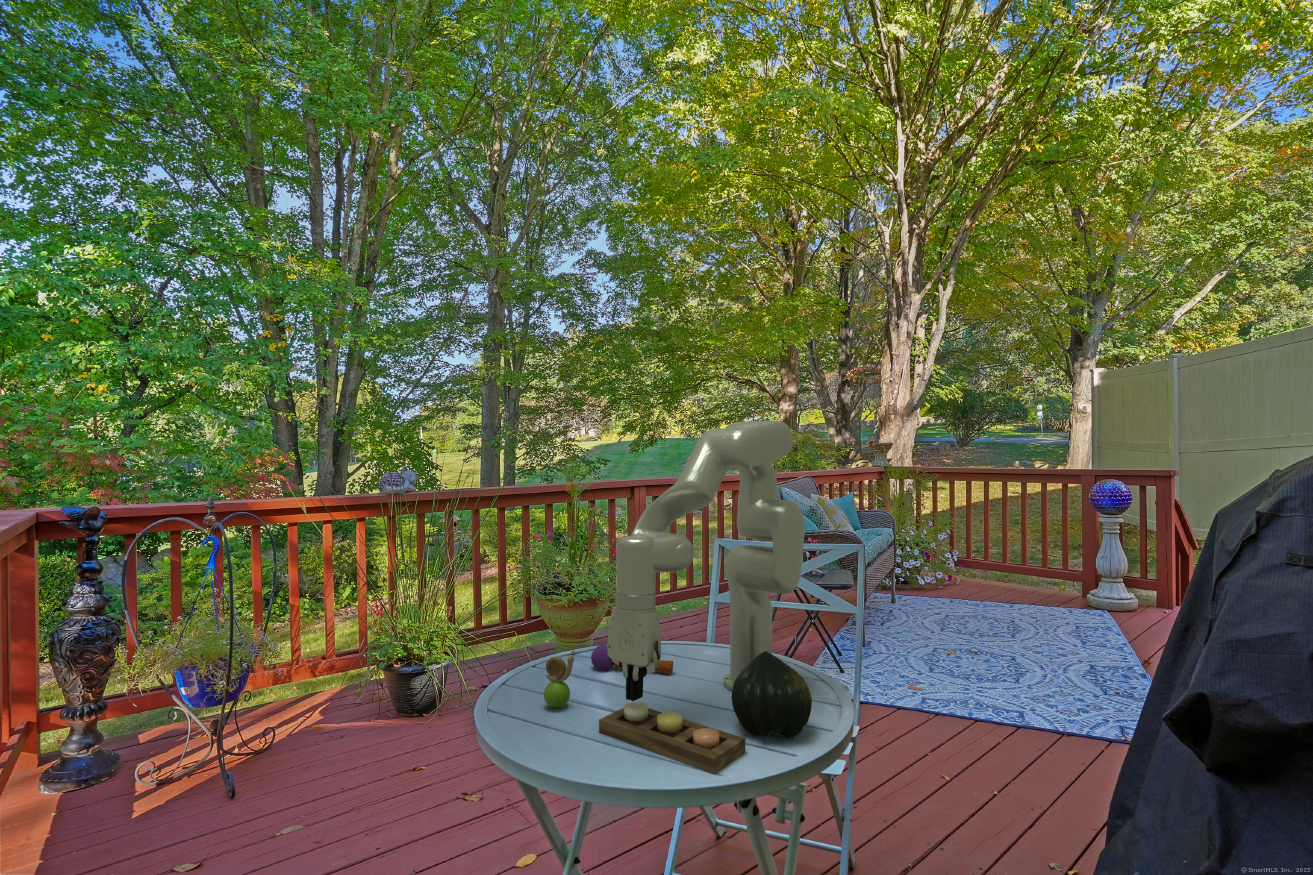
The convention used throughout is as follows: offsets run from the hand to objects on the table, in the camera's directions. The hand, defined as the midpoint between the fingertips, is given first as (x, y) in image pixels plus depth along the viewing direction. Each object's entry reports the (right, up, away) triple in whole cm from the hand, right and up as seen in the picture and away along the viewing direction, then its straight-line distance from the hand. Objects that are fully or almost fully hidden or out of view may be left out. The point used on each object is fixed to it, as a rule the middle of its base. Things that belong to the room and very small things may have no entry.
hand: (634, 698), depth 126 cm
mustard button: (+7, -3, -5) cm, 9 cm away
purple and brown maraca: (-2, -7, +34) cm, 35 cm away
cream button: (0, -4, 0) cm, 4 cm away
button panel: (+7, -6, -5) cm, 10 cm away
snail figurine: (-16, -7, +12) cm, 21 cm away
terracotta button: (+13, -4, -10) cm, 17 cm away
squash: (+26, -7, 0) cm, 27 cm away
